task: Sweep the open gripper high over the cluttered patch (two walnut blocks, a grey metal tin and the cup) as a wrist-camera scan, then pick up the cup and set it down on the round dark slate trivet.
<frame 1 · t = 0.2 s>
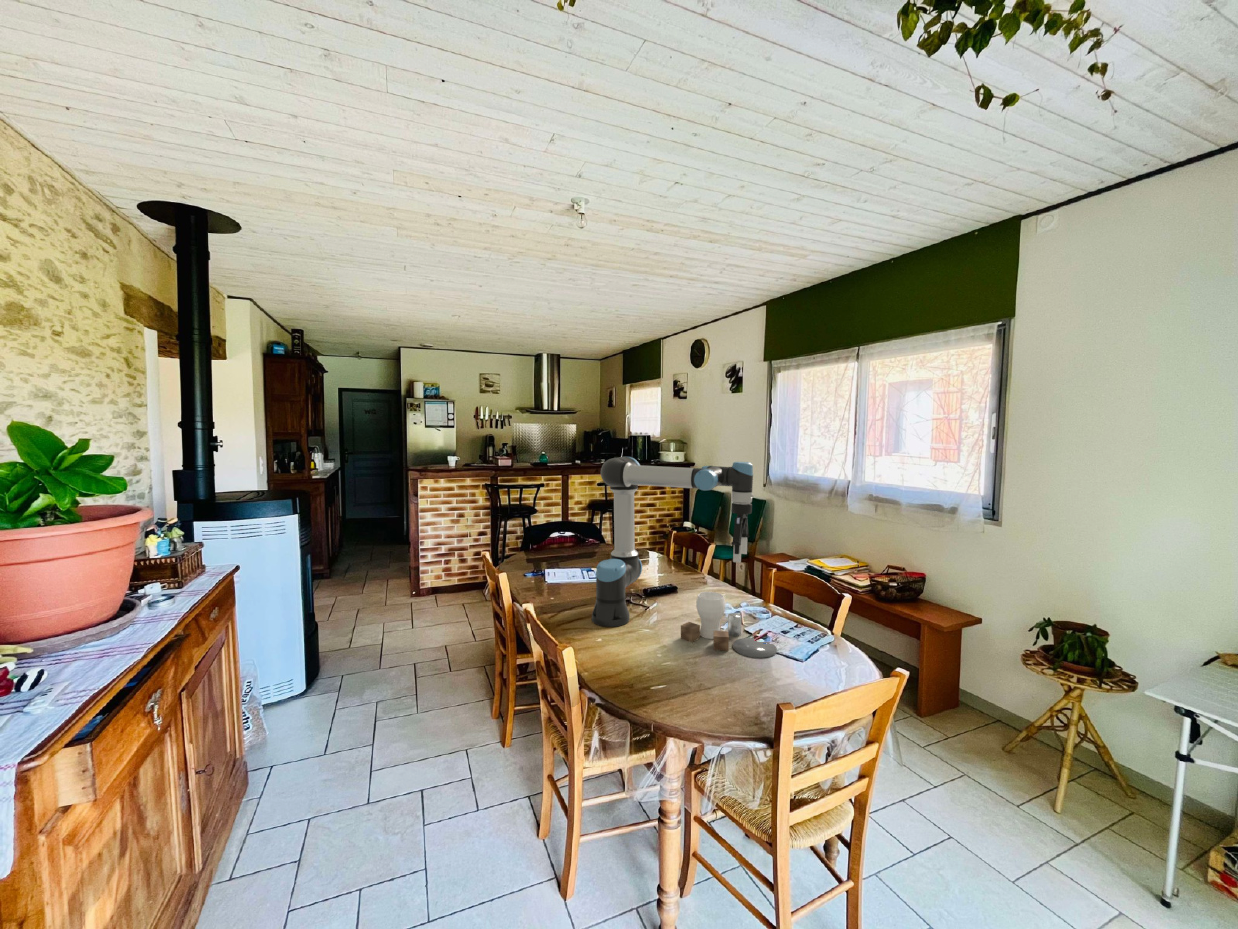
hand: (740, 557, 195), 28 cm above the table, fingers open, 13 cm apart
trivet: (754, 648, 179), on the table
walnut block b: (690, 638, 188), on the table
grey tin: (734, 633, 192), on the table
cup: (710, 635, 191), on the table
walnut block a: (720, 647, 180), on the table
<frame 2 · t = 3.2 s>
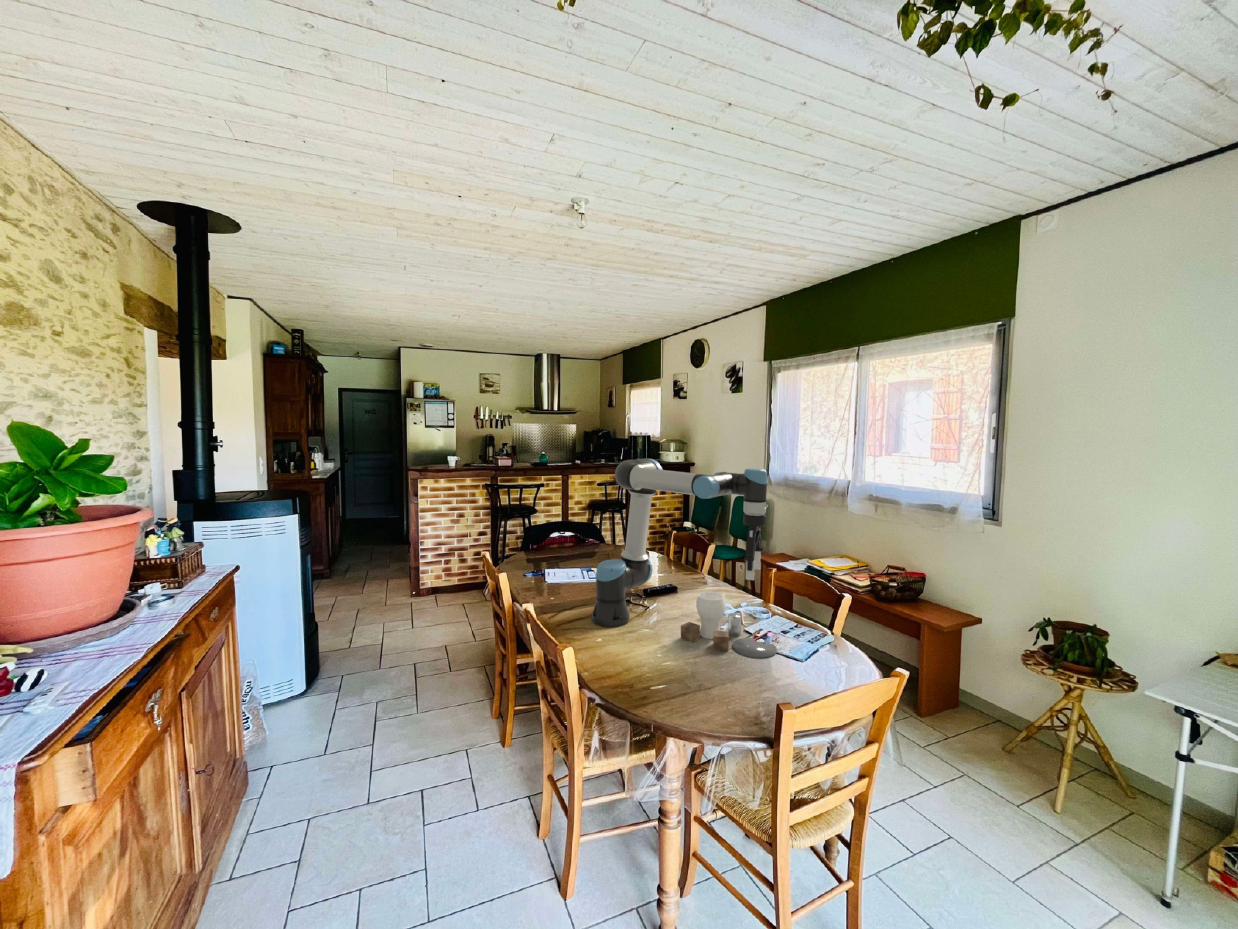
hand: (753, 574, 177), 27 cm above the table, fingers open, 13 cm apart
nothing on the table moved.
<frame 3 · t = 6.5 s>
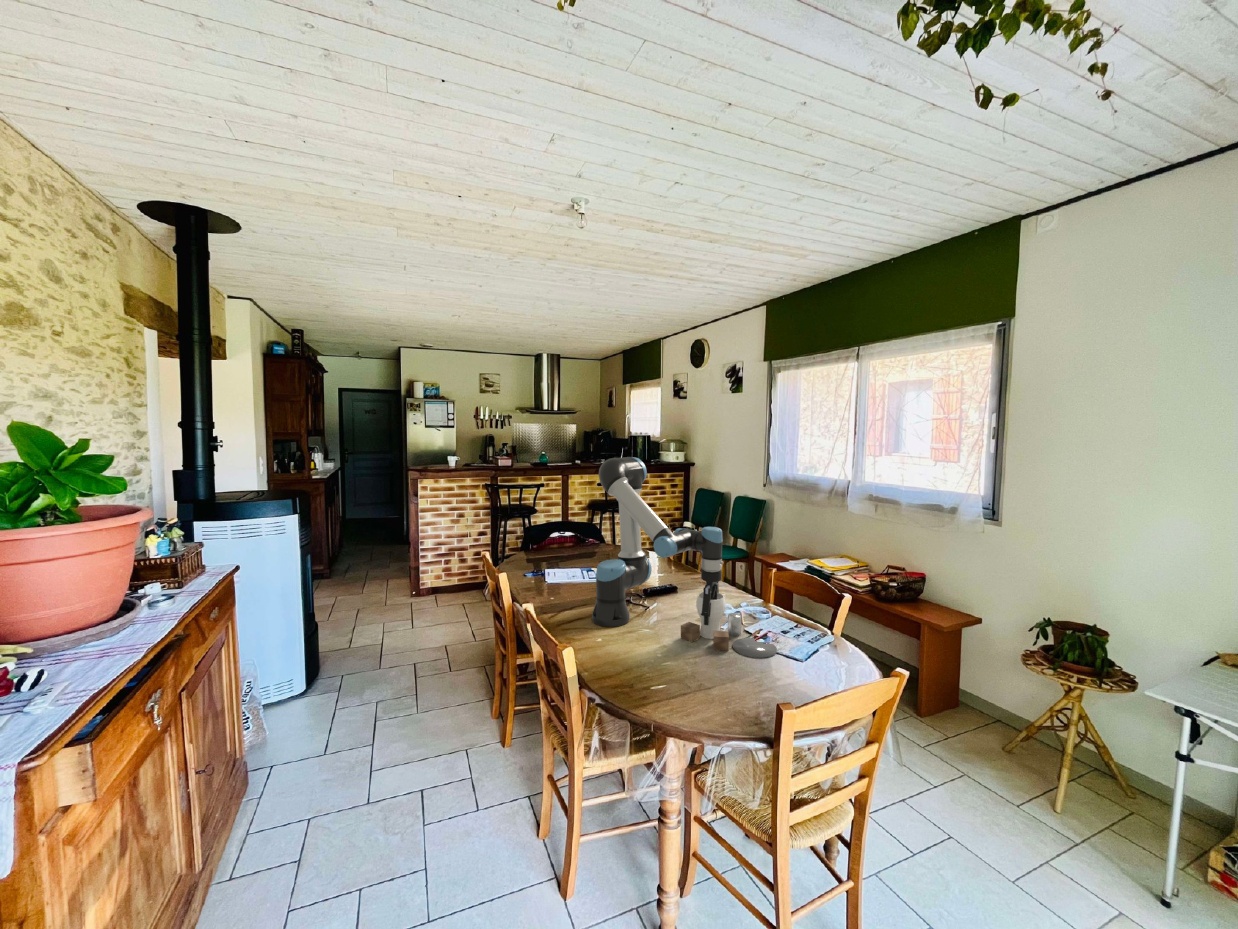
hand: (710, 627, 191), 3 cm above the table, fingers closed on cup, 11 cm apart
cup: (710, 635, 191), on the table, touching gripper
everything else where it was.
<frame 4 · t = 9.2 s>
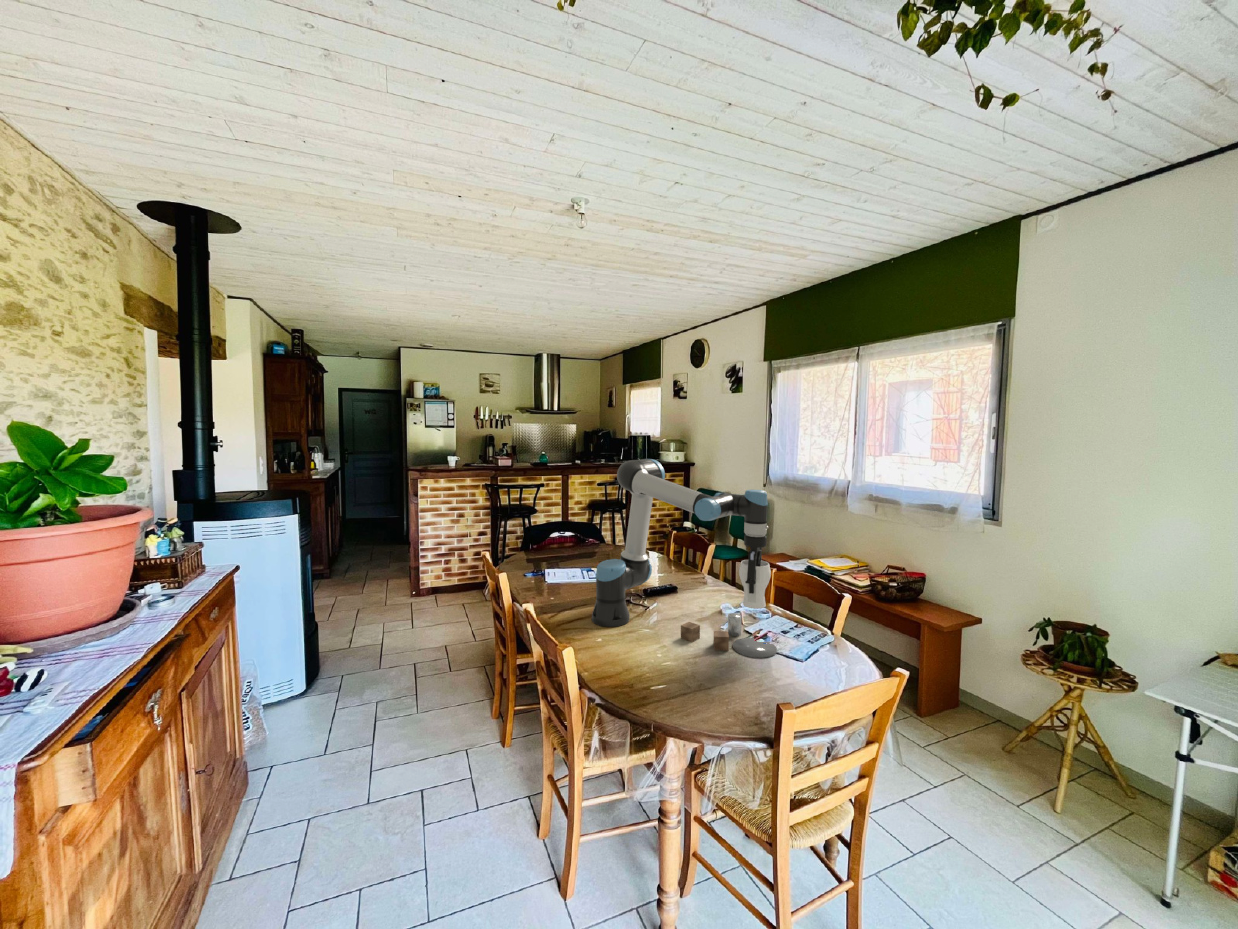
hand: (754, 597, 178), 18 cm above the table, fingers closed on cup, 10 cm apart
cup: (754, 605, 179), point 15 cm above the table, touching gripper
everything else where it was.
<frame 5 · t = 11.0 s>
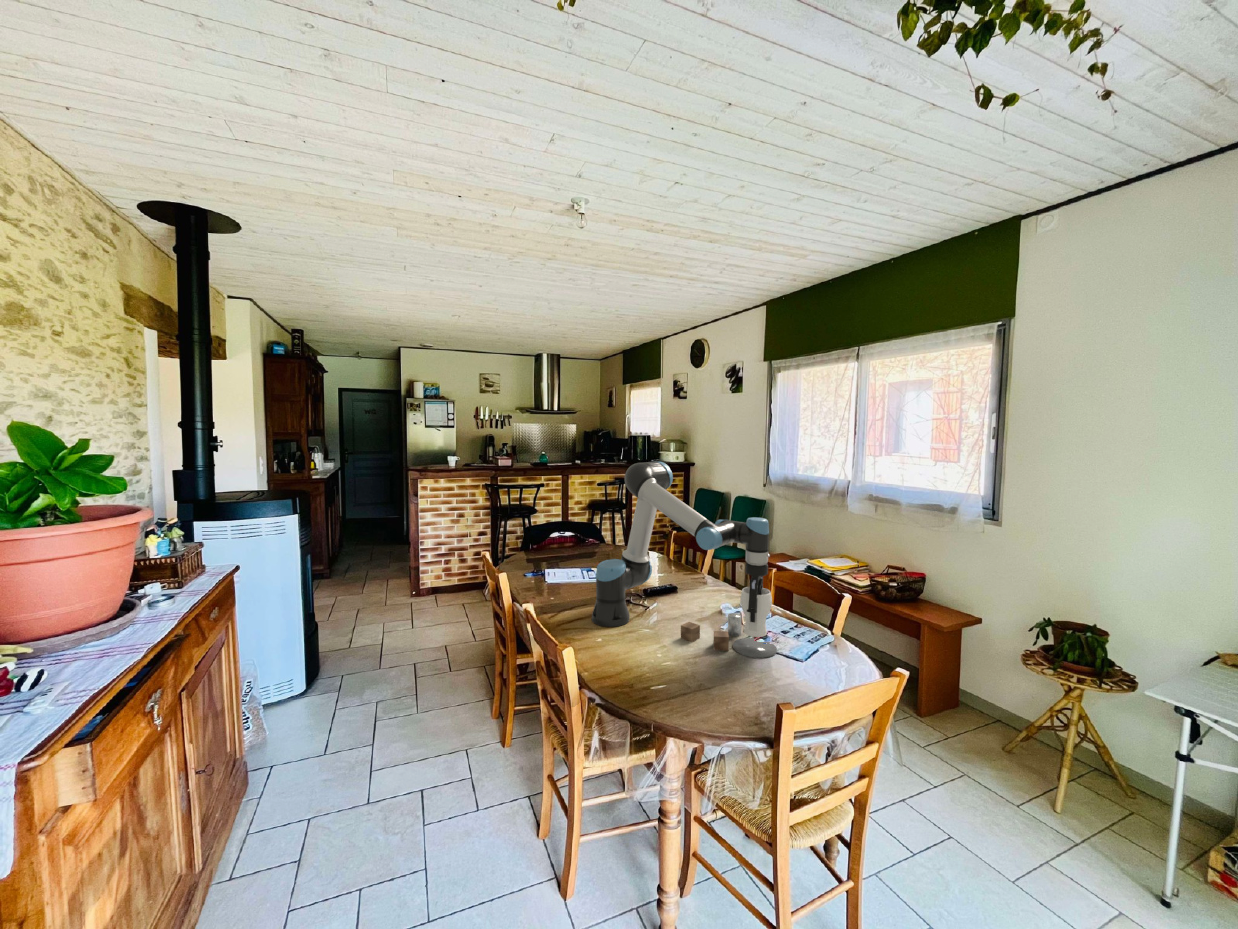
hand: (755, 624, 179), 9 cm above the table, fingers closed on cup, 10 cm apart
cup: (755, 633, 179), point 6 cm above the table, touching gripper
everything else where it was.
when the fingers open (5 cm above the table, at t = 12.4 s): cup drops 1 cm, resting on trivet.
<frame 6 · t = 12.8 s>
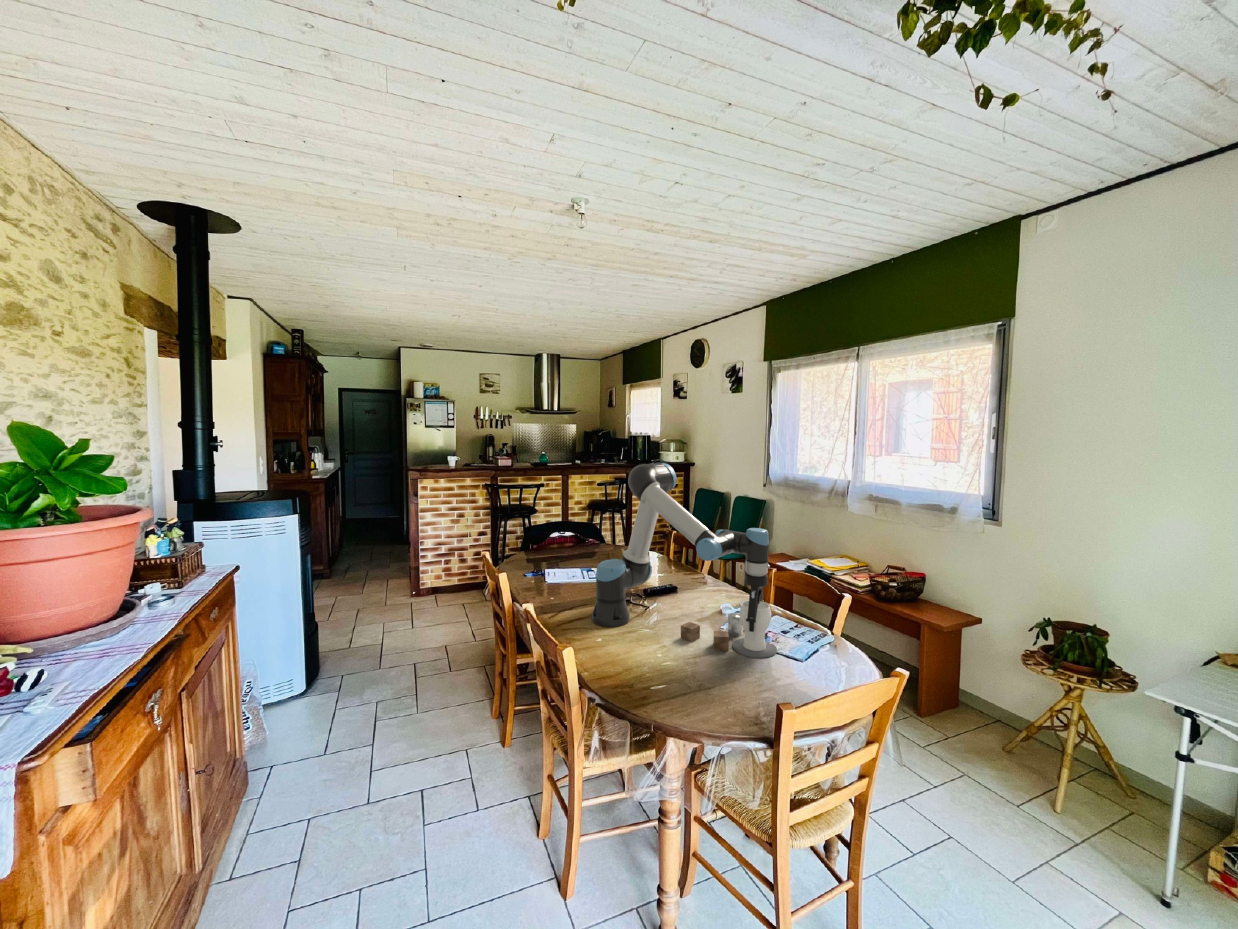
hand: (754, 632, 179), 6 cm above the table, fingers open, 13 cm apart
cup: (754, 647, 180), resting on trivet
everything else where it was.
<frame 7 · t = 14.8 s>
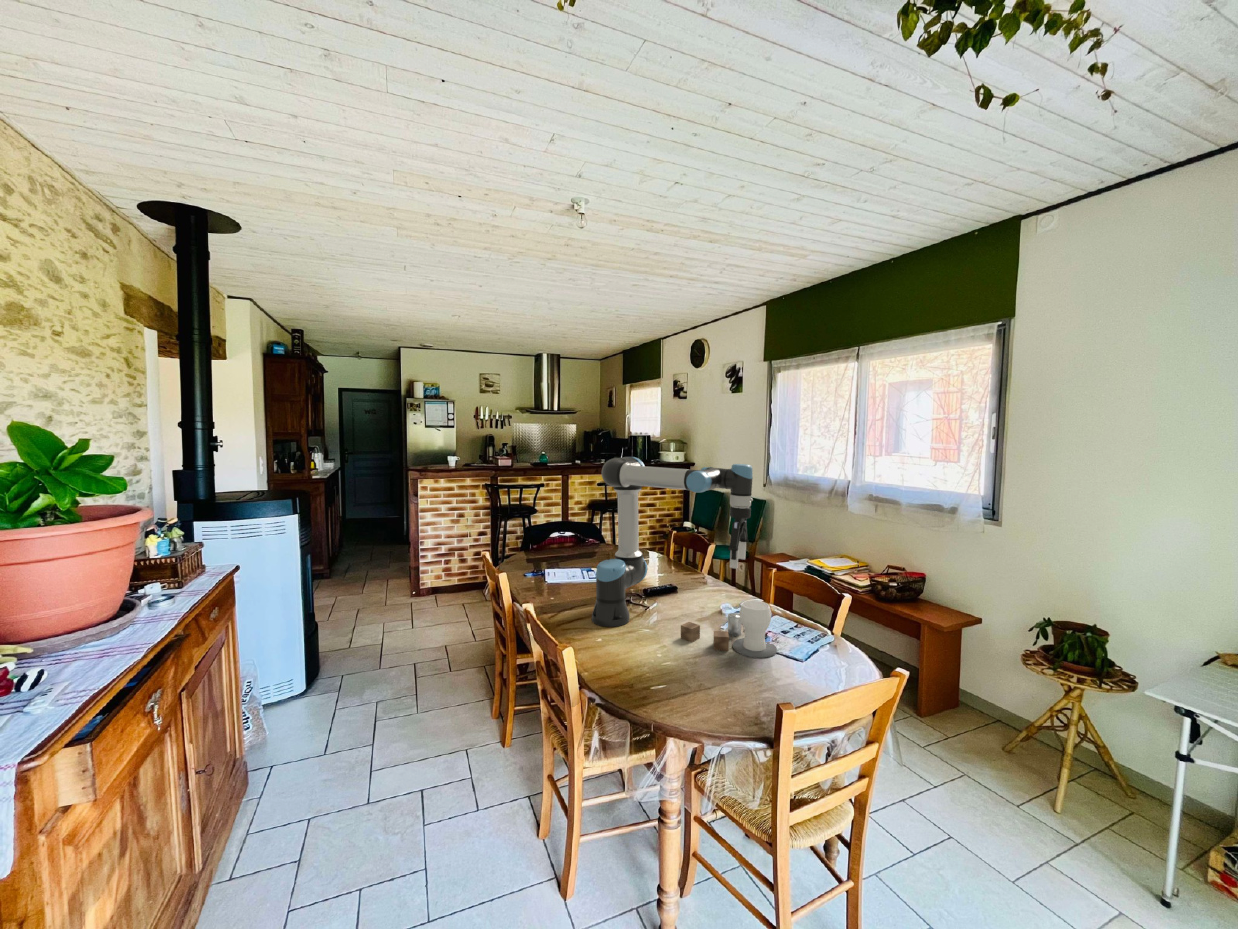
hand: (737, 563, 188), 27 cm above the table, fingers open, 13 cm apart
nothing on the table moved.
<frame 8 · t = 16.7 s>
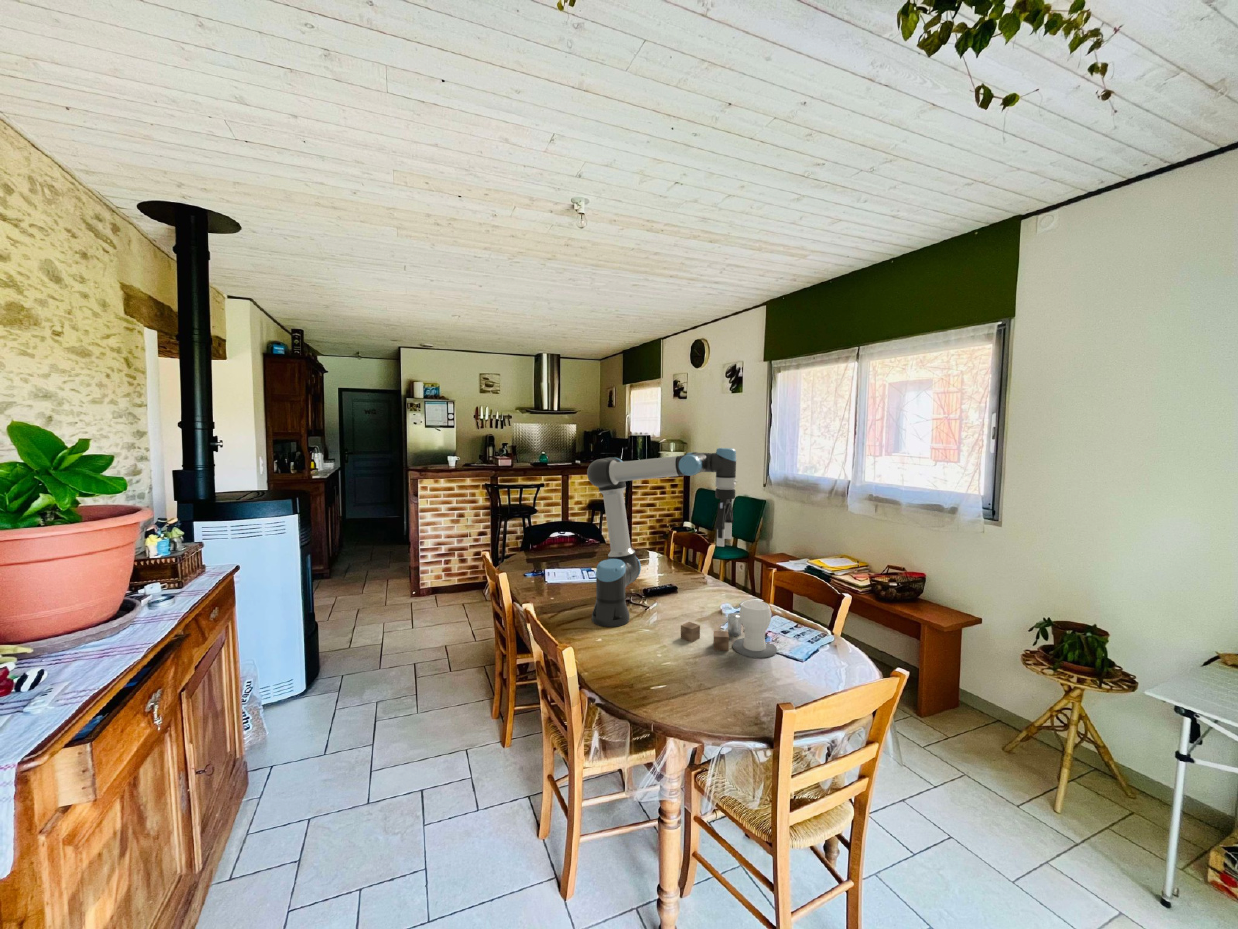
hand: (724, 542, 198), 33 cm above the table, fingers open, 13 cm apart
nothing on the table moved.
at the end: cup 0.1 cm from the trivet (horizontally); cup tilted 0°; cup touching trivet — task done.
